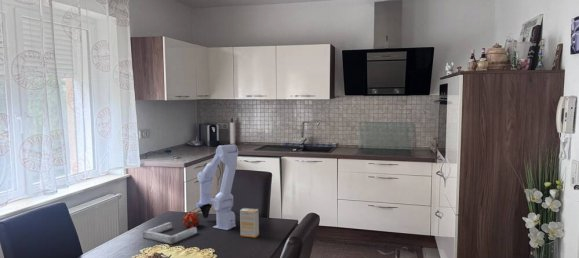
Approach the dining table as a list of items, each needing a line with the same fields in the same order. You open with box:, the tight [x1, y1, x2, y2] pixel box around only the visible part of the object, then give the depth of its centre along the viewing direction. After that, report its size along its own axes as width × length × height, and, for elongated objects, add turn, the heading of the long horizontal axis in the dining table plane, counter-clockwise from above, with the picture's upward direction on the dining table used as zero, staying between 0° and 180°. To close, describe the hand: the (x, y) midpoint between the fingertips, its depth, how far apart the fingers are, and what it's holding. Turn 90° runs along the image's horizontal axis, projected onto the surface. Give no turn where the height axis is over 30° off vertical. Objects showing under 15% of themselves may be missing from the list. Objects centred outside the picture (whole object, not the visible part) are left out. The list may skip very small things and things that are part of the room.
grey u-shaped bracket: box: [142, 221, 198, 245], centre depth 190 cm, size 19×17×3 cm
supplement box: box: [239, 207, 260, 239], centre depth 189 cm, size 8×5×13 cm, turn 71°
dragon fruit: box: [182, 211, 200, 229], centre depth 203 cm, size 8×8×12 cm
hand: (205, 217), depth 213 cm, fingers closed
